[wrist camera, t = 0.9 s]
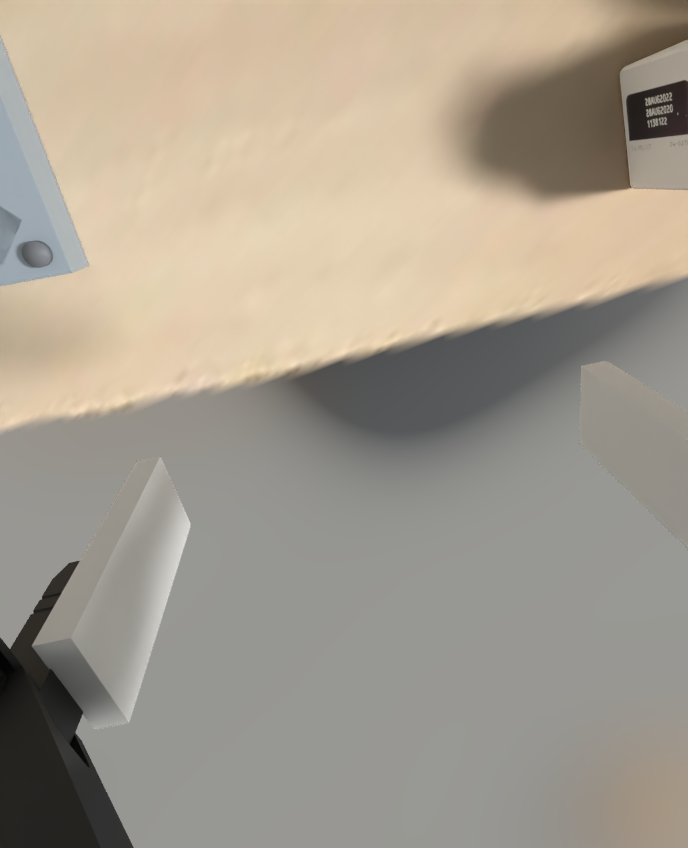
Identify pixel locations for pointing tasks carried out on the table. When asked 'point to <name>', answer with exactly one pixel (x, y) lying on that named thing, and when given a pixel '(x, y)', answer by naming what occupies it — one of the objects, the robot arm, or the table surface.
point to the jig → (30, 196)
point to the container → (657, 119)
